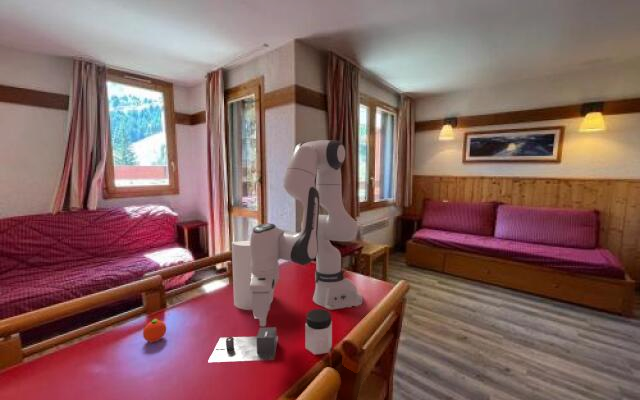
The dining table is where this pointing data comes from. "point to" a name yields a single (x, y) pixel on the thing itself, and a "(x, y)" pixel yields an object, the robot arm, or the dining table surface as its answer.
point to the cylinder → (242, 275)
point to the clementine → (154, 330)
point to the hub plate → (238, 350)
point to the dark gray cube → (266, 340)
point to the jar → (318, 331)
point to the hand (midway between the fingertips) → (265, 316)
